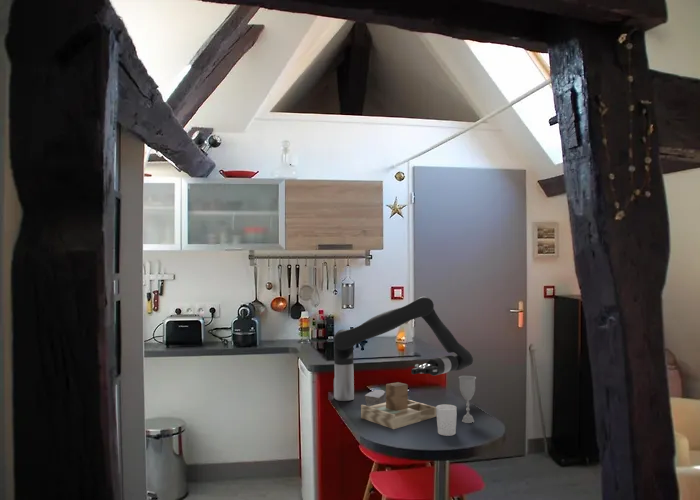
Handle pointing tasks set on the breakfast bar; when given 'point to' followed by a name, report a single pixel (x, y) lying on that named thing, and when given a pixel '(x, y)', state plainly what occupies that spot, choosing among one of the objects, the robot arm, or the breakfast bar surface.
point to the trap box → (398, 414)
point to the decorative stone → (375, 397)
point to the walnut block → (396, 396)
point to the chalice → (467, 394)
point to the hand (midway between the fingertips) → (412, 371)
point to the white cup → (446, 419)
